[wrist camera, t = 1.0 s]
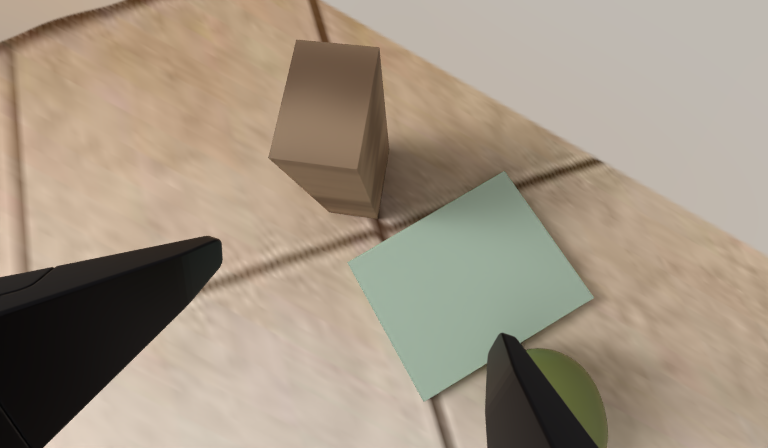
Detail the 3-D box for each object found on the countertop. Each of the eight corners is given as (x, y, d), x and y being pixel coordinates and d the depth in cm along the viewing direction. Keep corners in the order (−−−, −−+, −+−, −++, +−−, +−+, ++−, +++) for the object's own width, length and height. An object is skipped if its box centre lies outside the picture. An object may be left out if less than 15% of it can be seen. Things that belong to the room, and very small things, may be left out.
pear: (624, 371, 15) (639, 562, 15) (565, 334, 21) (576, 476, 21) (517, 377, 16) (531, 565, 15) (486, 338, 21) (496, 479, 21)
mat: (422, 397, 21) (423, 402, 20) (349, 263, 23) (347, 262, 22) (587, 297, 21) (594, 297, 20) (500, 174, 23) (504, 170, 22)
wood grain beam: (377, 219, 23) (357, 169, 12) (329, 212, 24) (268, 157, 13) (389, 149, 24) (379, 47, 13) (342, 143, 25) (296, 39, 14)
